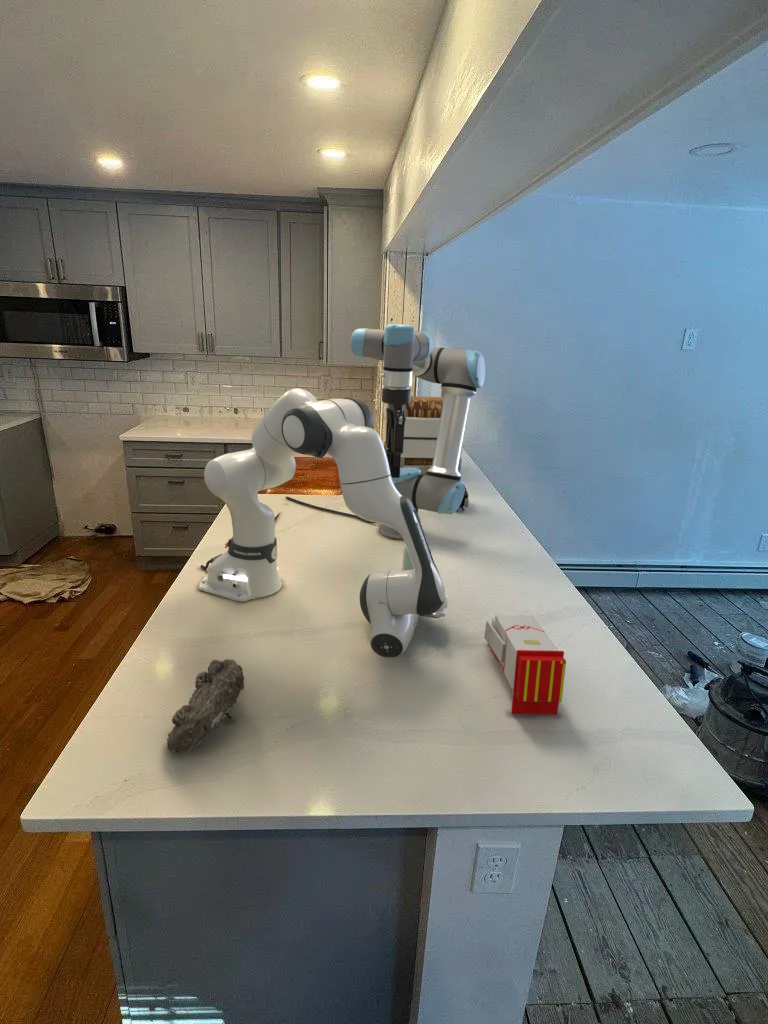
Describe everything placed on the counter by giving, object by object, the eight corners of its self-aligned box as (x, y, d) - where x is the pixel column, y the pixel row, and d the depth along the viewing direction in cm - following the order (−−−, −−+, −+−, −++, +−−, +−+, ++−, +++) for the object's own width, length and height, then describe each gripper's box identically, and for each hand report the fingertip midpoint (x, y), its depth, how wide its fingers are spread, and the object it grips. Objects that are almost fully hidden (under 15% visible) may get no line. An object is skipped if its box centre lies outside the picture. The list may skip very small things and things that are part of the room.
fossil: (192, 660, 117) (244, 628, 112) (224, 691, 120) (276, 661, 115) (142, 746, 98) (202, 712, 93) (182, 779, 101) (242, 748, 96)
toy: (530, 600, 137) (574, 657, 108) (525, 651, 140) (567, 720, 111) (480, 599, 137) (511, 656, 107) (477, 651, 139) (506, 719, 110)
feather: (287, 506, 225) (290, 502, 224) (270, 530, 198) (272, 526, 198) (283, 504, 225) (286, 500, 224) (265, 527, 198) (268, 523, 197)
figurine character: (468, 516, 224) (463, 500, 237) (471, 498, 221) (465, 483, 234) (452, 515, 224) (447, 499, 237) (453, 498, 220) (449, 482, 234)
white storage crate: (382, 463, 289) (386, 382, 275) (445, 464, 293) (451, 384, 279) (390, 482, 257) (394, 392, 243) (460, 483, 261) (468, 394, 247)
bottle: (397, 606, 151) (401, 531, 144) (416, 604, 153) (421, 529, 145) (403, 616, 146) (408, 539, 139) (423, 614, 148) (429, 537, 140)
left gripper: (445, 606, 132) (452, 580, 145) (361, 593, 136) (375, 569, 149) (443, 629, 134) (450, 602, 147) (360, 616, 138) (374, 591, 151)
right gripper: (376, 382, 153) (374, 466, 161) (388, 392, 137) (384, 484, 145) (404, 383, 154) (399, 466, 162) (418, 392, 139) (413, 484, 147)
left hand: (412, 585), depth 148 cm, fingers closed on bottle, 5 cm apart
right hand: (392, 474), depth 154 cm, fingers closed on cap, 4 cm apart
